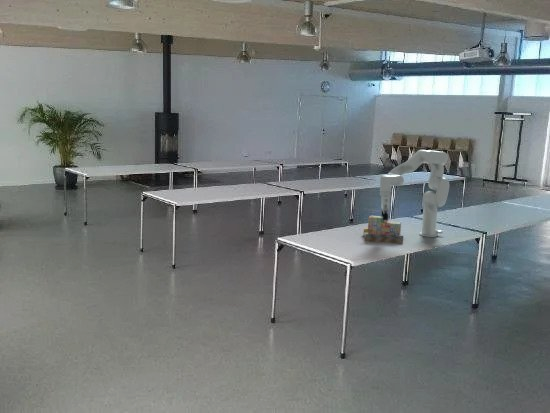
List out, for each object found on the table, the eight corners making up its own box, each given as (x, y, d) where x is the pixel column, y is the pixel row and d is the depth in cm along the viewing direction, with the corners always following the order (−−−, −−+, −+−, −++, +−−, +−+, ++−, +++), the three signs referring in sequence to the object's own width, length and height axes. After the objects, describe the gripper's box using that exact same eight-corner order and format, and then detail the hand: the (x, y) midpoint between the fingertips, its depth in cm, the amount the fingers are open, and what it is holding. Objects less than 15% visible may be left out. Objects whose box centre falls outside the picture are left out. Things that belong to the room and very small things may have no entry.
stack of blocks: (400, 235, 368) (401, 218, 366) (398, 237, 363) (399, 219, 361) (369, 232, 377) (370, 215, 375) (367, 234, 371) (368, 216, 369)
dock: (399, 236, 378) (399, 229, 377) (402, 243, 360) (403, 236, 359) (363, 235, 381) (363, 228, 380) (365, 241, 362) (365, 234, 361)
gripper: (392, 195, 356) (391, 221, 359) (389, 191, 373) (388, 215, 376) (380, 195, 357) (380, 220, 360) (378, 191, 374) (378, 215, 377)
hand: (384, 218), depth 368 cm, fingers open, 9 cm apart
